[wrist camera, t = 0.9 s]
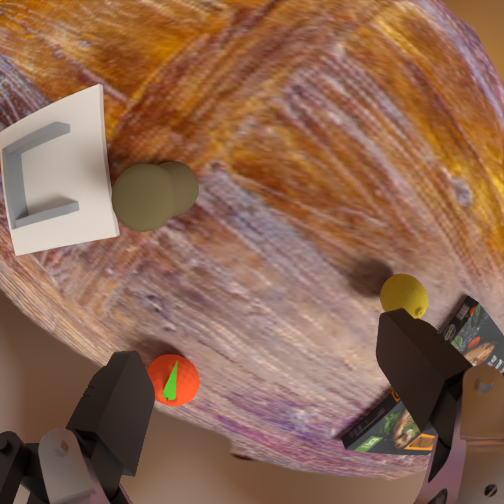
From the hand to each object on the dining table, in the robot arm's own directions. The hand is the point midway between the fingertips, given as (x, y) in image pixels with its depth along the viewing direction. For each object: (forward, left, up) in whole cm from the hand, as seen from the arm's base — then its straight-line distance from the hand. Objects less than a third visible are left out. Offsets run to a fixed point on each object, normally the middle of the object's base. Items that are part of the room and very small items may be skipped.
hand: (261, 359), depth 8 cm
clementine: (+17, -11, -23) cm, 31 cm away
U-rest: (-10, -23, -23) cm, 34 cm away
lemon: (+10, +18, -23) cm, 31 cm away
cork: (-5, -7, -23) cm, 24 cm away
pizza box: (+40, +38, -23) cm, 60 cm away
